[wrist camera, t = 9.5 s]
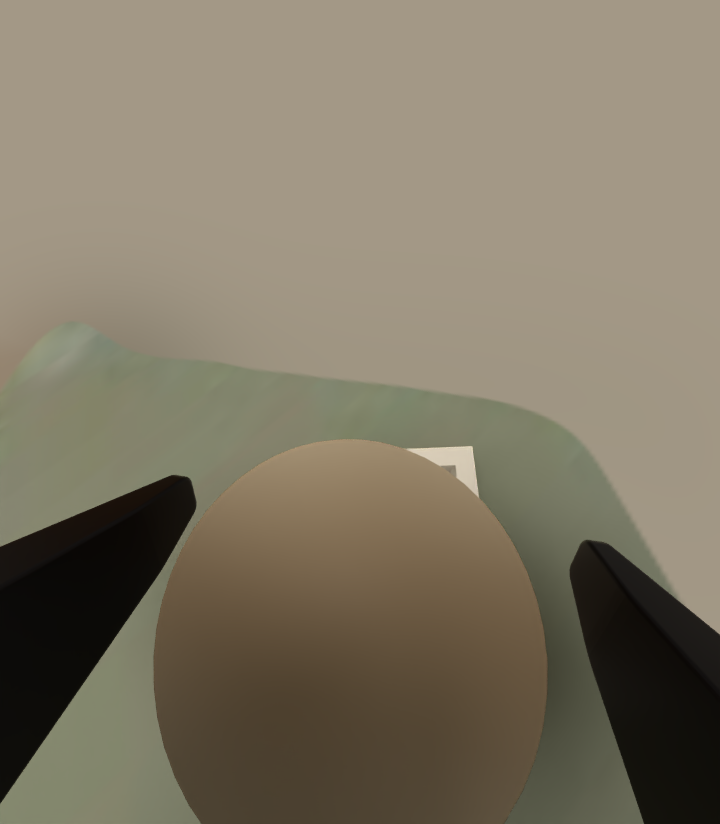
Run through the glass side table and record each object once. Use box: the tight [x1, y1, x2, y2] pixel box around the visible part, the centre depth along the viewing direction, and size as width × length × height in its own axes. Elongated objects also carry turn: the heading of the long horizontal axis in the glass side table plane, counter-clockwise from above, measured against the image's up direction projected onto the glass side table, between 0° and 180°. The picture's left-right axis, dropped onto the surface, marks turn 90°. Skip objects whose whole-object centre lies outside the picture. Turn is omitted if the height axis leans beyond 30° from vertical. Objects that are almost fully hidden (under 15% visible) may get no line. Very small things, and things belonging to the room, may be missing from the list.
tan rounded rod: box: [154, 439, 547, 824], centre depth 10 cm, size 4×4×13 cm
